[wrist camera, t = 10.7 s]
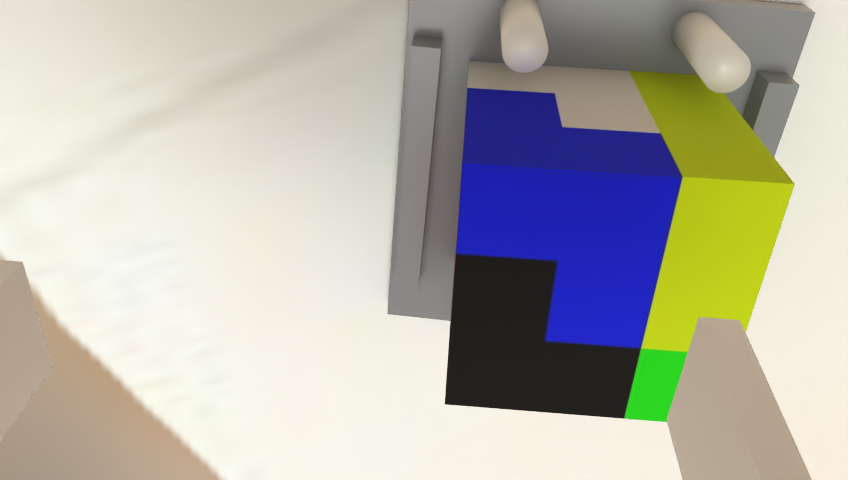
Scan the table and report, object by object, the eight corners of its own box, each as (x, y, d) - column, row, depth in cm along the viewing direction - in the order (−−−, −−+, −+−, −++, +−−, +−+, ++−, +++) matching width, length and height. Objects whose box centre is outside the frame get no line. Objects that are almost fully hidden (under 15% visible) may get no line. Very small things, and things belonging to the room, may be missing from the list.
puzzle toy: (468, 60, 31) (462, 161, 23) (709, 75, 31) (794, 184, 23) (454, 260, 37) (444, 404, 28) (660, 275, 36) (714, 425, 28)
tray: (413, -34, 31) (398, 2, 26) (804, 5, 31) (870, 50, 25) (390, 300, 40) (375, 379, 34) (692, 333, 39) (724, 417, 34)
